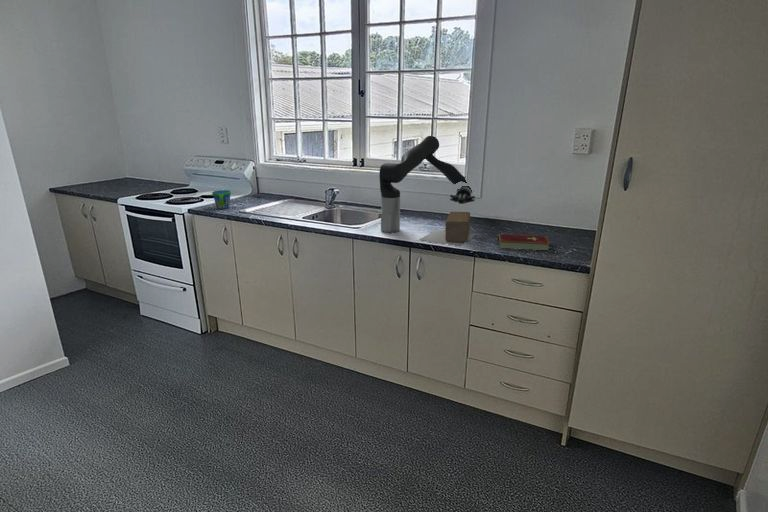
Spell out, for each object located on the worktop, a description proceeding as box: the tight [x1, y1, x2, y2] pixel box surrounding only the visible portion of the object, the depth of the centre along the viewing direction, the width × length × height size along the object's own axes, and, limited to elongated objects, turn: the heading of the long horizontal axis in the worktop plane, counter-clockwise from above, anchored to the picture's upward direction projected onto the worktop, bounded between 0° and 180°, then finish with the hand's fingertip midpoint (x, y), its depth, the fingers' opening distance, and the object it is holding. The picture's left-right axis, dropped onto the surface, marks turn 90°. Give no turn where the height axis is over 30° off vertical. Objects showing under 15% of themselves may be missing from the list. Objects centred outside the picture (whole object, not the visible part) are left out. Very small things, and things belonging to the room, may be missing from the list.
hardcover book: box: [497, 233, 551, 251], centre depth 202 cm, size 12×21×4 cm, turn 79°
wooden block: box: [445, 211, 471, 243], centre depth 214 cm, size 10×10×20 cm
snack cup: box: [211, 189, 232, 210], centre depth 275 cm, size 16×10×10 cm
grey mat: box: [418, 228, 475, 247], centre depth 215 cm, size 21×20×1 cm
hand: (460, 201), depth 221 cm, fingers closed
